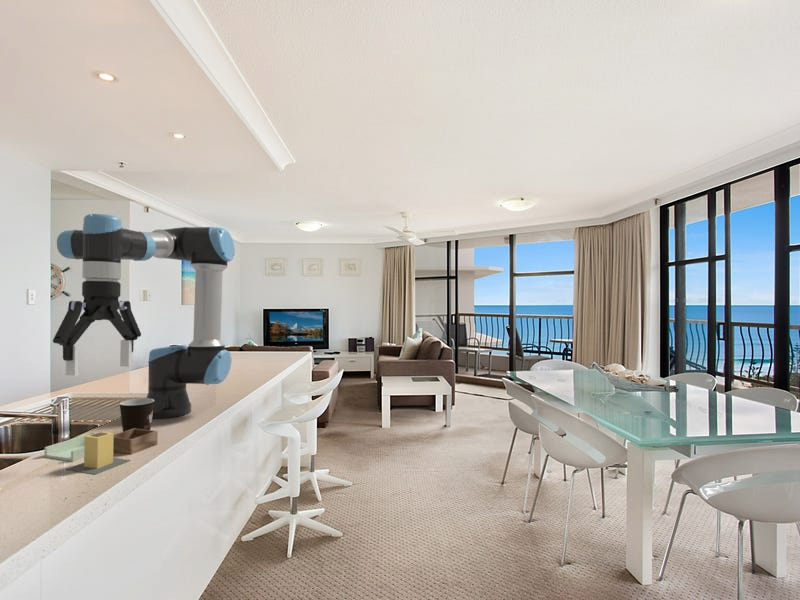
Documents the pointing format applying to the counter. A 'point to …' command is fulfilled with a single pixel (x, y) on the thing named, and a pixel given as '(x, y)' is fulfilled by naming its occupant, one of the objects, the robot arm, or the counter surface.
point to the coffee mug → (136, 413)
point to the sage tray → (67, 449)
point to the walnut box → (134, 440)
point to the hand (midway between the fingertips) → (100, 370)
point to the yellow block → (98, 450)
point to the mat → (96, 471)
